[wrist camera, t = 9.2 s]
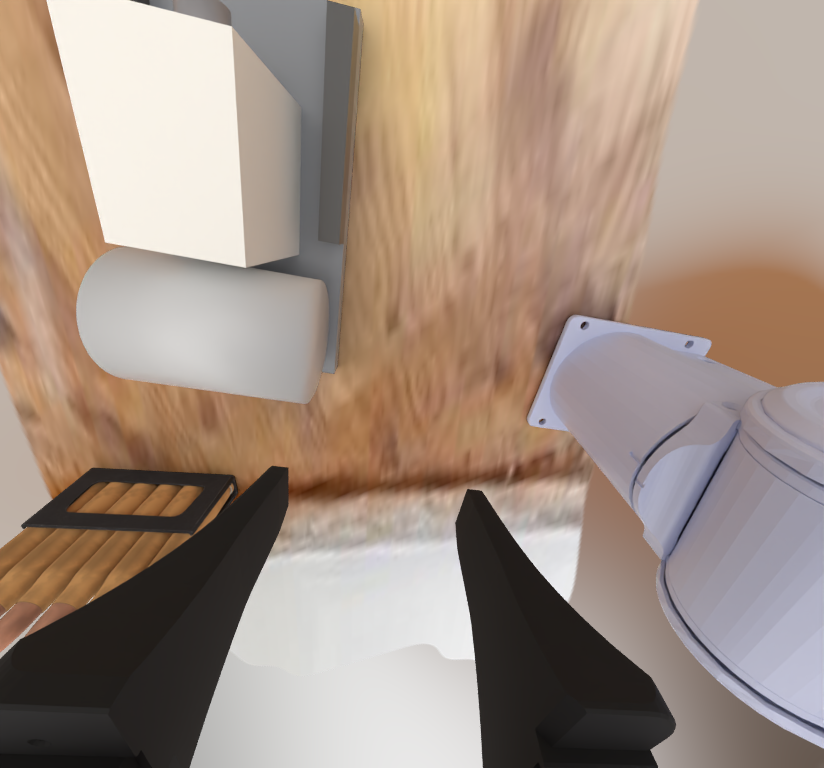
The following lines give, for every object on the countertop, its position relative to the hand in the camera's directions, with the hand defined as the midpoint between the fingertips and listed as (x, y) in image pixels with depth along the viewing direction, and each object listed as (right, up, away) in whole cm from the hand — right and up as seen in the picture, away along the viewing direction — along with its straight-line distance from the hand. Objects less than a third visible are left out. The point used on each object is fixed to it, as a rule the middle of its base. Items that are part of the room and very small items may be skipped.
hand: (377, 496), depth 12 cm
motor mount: (-6, +13, +4) cm, 15 cm away
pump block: (-6, +14, +2) cm, 16 cm away
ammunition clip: (-18, -3, +12) cm, 22 cm away
